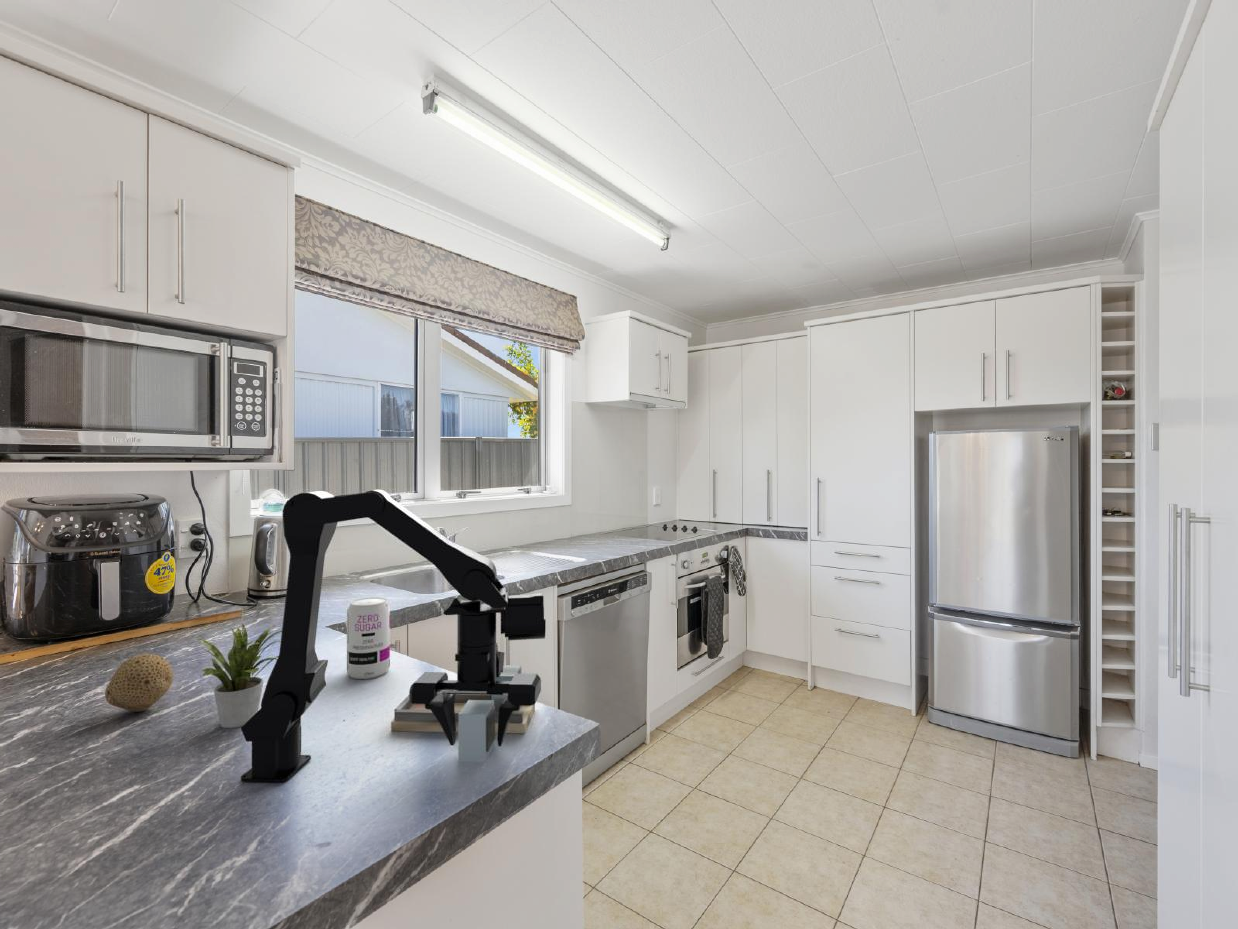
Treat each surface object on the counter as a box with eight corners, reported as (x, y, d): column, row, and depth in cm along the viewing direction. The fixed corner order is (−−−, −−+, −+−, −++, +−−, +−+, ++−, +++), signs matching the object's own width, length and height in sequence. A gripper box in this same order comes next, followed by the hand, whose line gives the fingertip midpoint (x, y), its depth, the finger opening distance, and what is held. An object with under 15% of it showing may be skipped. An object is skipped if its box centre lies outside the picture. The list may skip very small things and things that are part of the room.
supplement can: (377, 663, 125) (377, 595, 125) (397, 672, 120) (397, 600, 120) (339, 674, 119) (339, 601, 119) (358, 683, 114) (359, 608, 114)
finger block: (487, 762, 84) (487, 714, 84) (458, 761, 84) (458, 714, 84) (495, 745, 89) (495, 700, 89) (468, 745, 89) (468, 700, 89)
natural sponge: (182, 709, 102) (182, 653, 102) (117, 728, 94) (117, 667, 94) (162, 697, 107) (162, 644, 107) (100, 714, 100) (100, 657, 100)
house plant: (310, 715, 99) (311, 621, 99) (222, 749, 87) (222, 642, 87) (265, 698, 107) (266, 610, 107) (178, 727, 95) (179, 629, 95)
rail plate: (524, 733, 93) (524, 681, 93) (391, 731, 94) (391, 679, 94) (534, 709, 102) (534, 662, 102) (412, 707, 103) (412, 660, 103)
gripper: (546, 627, 94) (546, 722, 94) (435, 625, 95) (434, 720, 95) (534, 649, 83) (534, 756, 83) (407, 647, 84) (407, 754, 84)
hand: (476, 744), depth 87 cm, fingers open, 7 cm apart
